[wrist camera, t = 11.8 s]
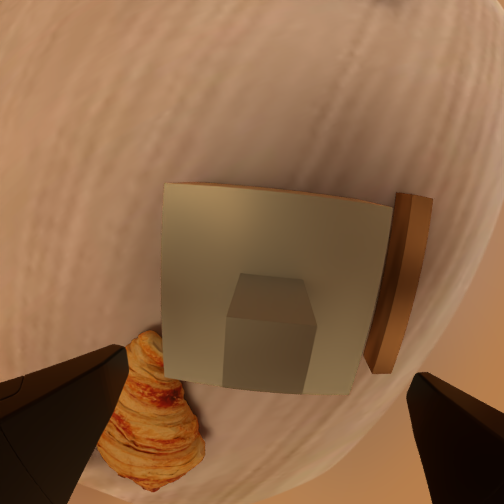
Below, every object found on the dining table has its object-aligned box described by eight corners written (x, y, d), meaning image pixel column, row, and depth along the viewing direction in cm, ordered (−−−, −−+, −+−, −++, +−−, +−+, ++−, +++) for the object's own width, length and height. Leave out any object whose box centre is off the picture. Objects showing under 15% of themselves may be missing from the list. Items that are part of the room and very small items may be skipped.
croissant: (140, 297, 25) (58, 317, 18) (235, 348, 20) (147, 399, 13) (142, 450, 29) (94, 478, 22) (207, 497, 24) (159, 537, 18)
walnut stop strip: (380, 355, 21) (391, 373, 18) (363, 355, 21) (372, 373, 18) (415, 196, 18) (433, 198, 15) (396, 192, 18) (412, 194, 15)
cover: (331, 342, 21) (367, 453, 10) (189, 328, 21) (136, 432, 11) (356, 198, 18) (445, 221, 8) (196, 181, 19) (115, 185, 8)
